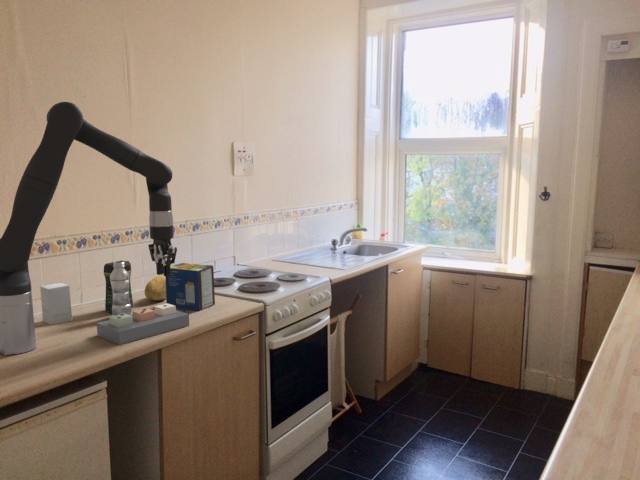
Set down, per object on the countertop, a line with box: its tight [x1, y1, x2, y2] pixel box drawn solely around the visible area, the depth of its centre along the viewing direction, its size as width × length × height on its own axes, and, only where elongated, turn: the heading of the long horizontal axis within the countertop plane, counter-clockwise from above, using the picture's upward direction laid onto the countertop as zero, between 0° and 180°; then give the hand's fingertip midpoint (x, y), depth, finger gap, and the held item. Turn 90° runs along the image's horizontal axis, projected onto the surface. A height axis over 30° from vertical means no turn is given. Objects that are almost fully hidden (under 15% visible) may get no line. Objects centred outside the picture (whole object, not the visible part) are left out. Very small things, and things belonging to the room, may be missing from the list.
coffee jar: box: [103, 259, 134, 314], centre depth 195 cm, size 10×8×19 cm
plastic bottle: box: [110, 260, 133, 316], centre depth 186 cm, size 6×7×20 cm
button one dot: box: [154, 303, 177, 316], centre depth 178 cm, size 5×5×5 cm
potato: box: [144, 275, 166, 301], centre depth 211 cm, size 10×14×10 cm
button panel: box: [96, 308, 190, 346], centre depth 172 cm, size 25×14×4 cm, turn 139°
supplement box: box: [39, 282, 73, 326], centre depth 182 cm, size 7×7×13 cm
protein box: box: [165, 262, 216, 312], centre depth 201 cm, size 10×15×16 cm
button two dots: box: [108, 313, 133, 328], centre depth 166 cm, size 5×5×5 cm
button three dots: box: [132, 307, 155, 322], centre depth 172 cm, size 5×5×5 cm
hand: (163, 275), depth 176 cm, fingers open, 3 cm apart
